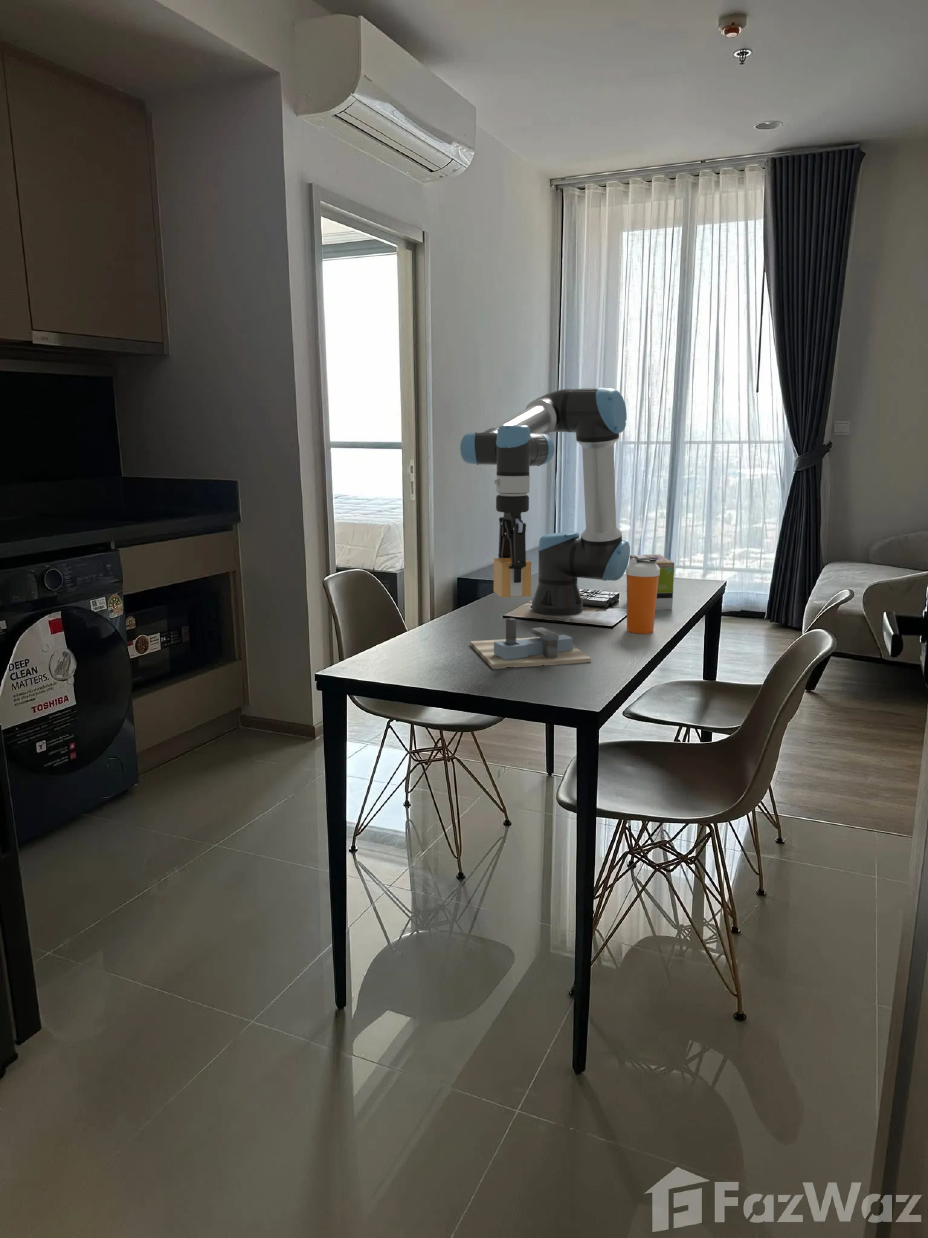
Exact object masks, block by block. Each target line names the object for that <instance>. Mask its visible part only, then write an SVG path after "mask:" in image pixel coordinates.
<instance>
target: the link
mask: <svg viewBox="0 0 928 1238" xmlns="http://www.w3.org/2000/svg"><path fill="white" fill-rule="evenodd" d="M558 635H559V640H557V652H562V651H570V650H573V646H574V638H573V637H572V636H569V635H567V634H558ZM530 638H531V639H523V640H517V638H516V645H509V646H508V645H506V640H505V641H496V642H494V654H495V655H497V656H499V657H500V658H502V659H504V660H510V659H518V658H525V657H528V656H531V655H539V654H543V648H544V639H542V638H534V637H530Z"/></svg>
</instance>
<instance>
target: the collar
mask: <svg viewBox="0 0 928 1238" xmlns="http://www.w3.org/2000/svg"><path fill="white" fill-rule="evenodd" d="M518 562H519V561H518ZM509 566H512V563H511V558H499V557H498V558H497V557H495V558H493V593H495V594H496V595H497V596H499V597H500V598H511V597H510V569H509ZM531 596H532V561H530V560H528V559H527V558H526V567H523V570H522V596H515V597H514V598H519V597H521V598H523V597H531Z"/></svg>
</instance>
